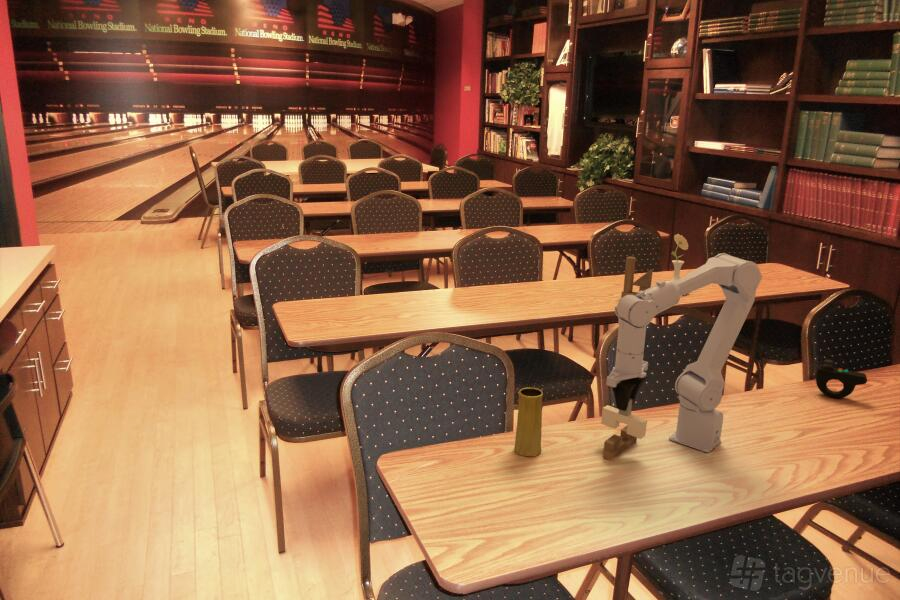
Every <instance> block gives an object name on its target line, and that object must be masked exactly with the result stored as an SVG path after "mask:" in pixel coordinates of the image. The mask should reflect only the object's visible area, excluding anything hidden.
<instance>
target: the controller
mask: <svg viewBox="0 0 900 600" xmlns="http://www.w3.org/2000/svg"><path fill="white" fill-rule="evenodd" d="M823 361H824V364H823V363H822V364H817V365H816V370H815V371H814V376H813V378H815V383H816V387H817V388H818V390H819V391H820V392H821V393H822V394H823V395H825V396H827V397H829V398H832V399H842V398H843V399H844V398H846V397H848V396H849V395H851V394H852V393H853V391H854V390H855V388H856V386H861V385H865V384H867V382H868V377H867V374H866V373H863V372H859V371H852V370H848V369H843V368H842V367H839V368H838V367H835V366H833V363H834V361H833V360H831V359H824V360H823ZM832 380H833V381H834V380H836V381H838V382H840V383H841V384H843V385H842V387H843V388H841V390H838V391H834V390H831V389H830V388H829V387H828V385H827V383H829V381H832Z"/></svg>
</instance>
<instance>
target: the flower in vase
mask: <svg viewBox="0 0 900 600" xmlns="http://www.w3.org/2000/svg"><path fill="white" fill-rule="evenodd" d="M673 238H674V242H675V243H676V245H677V246H676V248H675V251H674V250H672V252H671V253H670V255H672V256H673V257H675V260H671V262H672V264H673V268H674V270H673V271H674V272H673V276H672V278H671V279H670V280H669V281H670V282H674V281H676V280H678V279H680V278H681V277H680V271H681V269H682V266H683V264H684V263H685V261H684V260H679V258H681V257H682V256H684V254H681V255H679V256H677V250H678V248H680V249H681V250H684V251H687V250H688V249H689V243H688V240H687V239H686V238H685V237H684V236H683V235H682V234H681V235H680V234H679V233H677V234H674V237H673Z"/></svg>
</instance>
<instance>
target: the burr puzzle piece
mask: <svg viewBox="0 0 900 600" xmlns="http://www.w3.org/2000/svg"><path fill="white" fill-rule="evenodd" d="M632 400H633V399H630V398H629V403H628V407H627V409H626V411H623V410H620V409H617V407H613V406H612V405H608V404H607V405H605V406H602V409H601V420H600V421H601V422H600V424H602V425H603V426H606V427H609V428H611V429H614V430H615V429H617V428H618V427H620V423H622V424H625V425H626V426H627V433H626V434H629V435H631V436H634V437H637V439H640V440H641V439H643V438H645V437H646V432H647V424H648V419H646V418H644V417H640V416H639V415H636V414H634V413H633V414H632V409H633V406H632Z"/></svg>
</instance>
